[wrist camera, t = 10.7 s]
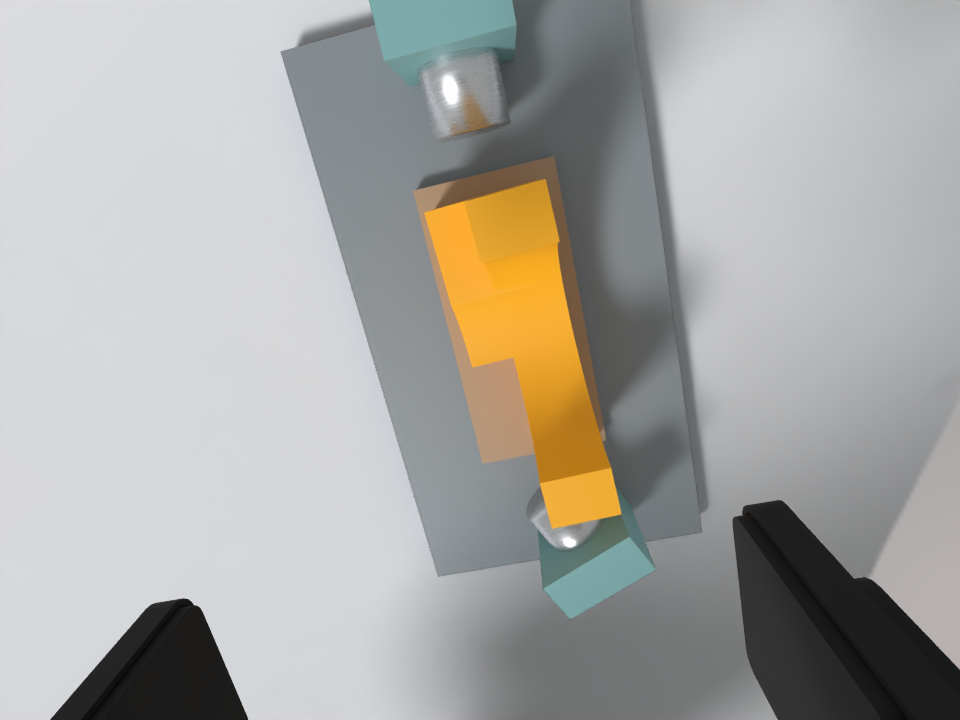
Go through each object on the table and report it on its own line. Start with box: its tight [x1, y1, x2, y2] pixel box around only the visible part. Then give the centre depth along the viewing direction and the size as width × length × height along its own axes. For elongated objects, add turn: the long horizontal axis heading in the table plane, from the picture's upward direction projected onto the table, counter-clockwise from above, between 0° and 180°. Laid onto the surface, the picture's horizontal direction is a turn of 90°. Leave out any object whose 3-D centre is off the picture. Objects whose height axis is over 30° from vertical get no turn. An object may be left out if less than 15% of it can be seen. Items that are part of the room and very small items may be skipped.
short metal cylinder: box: [526, 487, 604, 552], centre depth 26 cm, size 4×3×3 cm, turn 39°
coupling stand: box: [281, 0, 702, 619], centre depth 24 cm, size 26×14×6 cm, turn 14°
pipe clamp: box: [424, 179, 622, 529], centre depth 22 cm, size 12×4×6 cm, turn 16°
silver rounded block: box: [417, 47, 511, 142], centre depth 21 cm, size 4×3×3 cm, turn 14°
